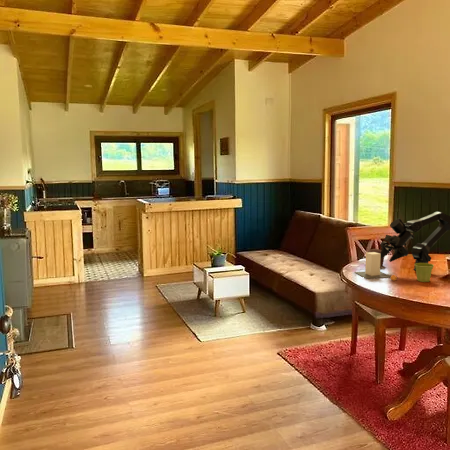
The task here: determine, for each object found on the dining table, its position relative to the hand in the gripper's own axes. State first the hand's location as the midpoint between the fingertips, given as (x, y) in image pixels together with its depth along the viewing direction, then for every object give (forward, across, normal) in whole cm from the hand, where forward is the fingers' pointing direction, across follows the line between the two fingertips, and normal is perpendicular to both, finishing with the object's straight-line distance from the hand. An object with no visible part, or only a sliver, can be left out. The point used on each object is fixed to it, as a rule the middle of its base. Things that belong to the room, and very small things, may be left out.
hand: (384, 259), depth 252 cm
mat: (+11, 0, 0) cm, 11 cm away
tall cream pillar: (+11, 0, 0) cm, 11 cm away
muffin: (0, -22, +12) cm, 25 cm away
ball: (+9, +15, +2) cm, 17 cm away
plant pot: (-1, +20, +13) cm, 24 cm away
